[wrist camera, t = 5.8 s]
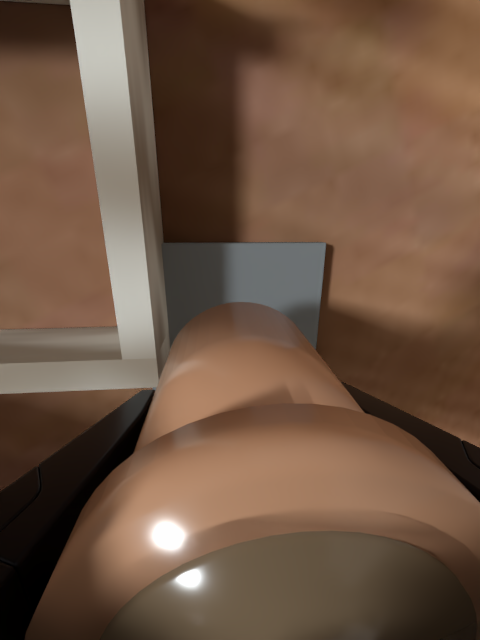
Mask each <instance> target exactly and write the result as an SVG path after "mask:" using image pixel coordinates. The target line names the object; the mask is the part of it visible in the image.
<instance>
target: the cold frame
mask: <svg viewBox="0 0 480 640" xmlns="http://www.w3.org/2000/svg"><path fill="white" fill-rule="evenodd" d="M0 1H11V2H29V3H46V4H64V5H71V12H72V19H73V26H74V32H75V39H76V46H77V53H78V60H79V67H80V73H81V80H82V87H83V94H84V101H85V108H86V114H87V121H88V128H89V135H90V142H91V149H92V155H93V162H94V169H95V176H96V183H97V190H98V197H99V203H100V210H101V217H102V224H103V231H104V238H105V244H106V251H107V258H108V265H109V272H110V279H111V285H112V292H113V299H114V306H115V313H116V320H117V326H118V327H82V328H44V329H6V330H0V394H10V393H34V392H57V391H81V390H105V389H128V388H152V387H157V385H158V382H159V379H160V376H161V373H162V370H163V368H164V365H165V362H166V359H167V356H168V353H169V351H170V340H169V328H168V317H167V305H166V293H165V281H164V269H163V258H162V246H161V244H162V243H164V240H163V227H162V215H161V203H160V191H159V179H158V167H157V154H156V142H155V130H154V118H153V106H152V94H151V81H150V69H149V57H148V45H147V33H146V20H145V8H144V0H0Z"/></svg>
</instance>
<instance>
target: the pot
mask: <svg viewBox="0 0 480 640" xmlns="http://www.w3.org/2000/svg"><path fill="white" fill-rule="evenodd" d="M24 640H480V502H479V501H478V500H477V499H476V498H475V497H474V496H473V495H472V494H471V493H470V492H469V491H468V489H467V488H466V487H465V486H464V485H463V484H462V483H461V482H460V481H459V480H458V479H457V478H456V477H455V476H454V475H453V474H452V472H451V471H450V470H449V469H448V468H447V467H446V466H445V465H444V464H443V463H442V462H441V461H440V460H439V459H438V458H437V457H436V455H435V454H434V453H433V452H432V451H431V450H430V449H428V448H427V447H426V446H425V445H424V444H423V443H421V442H420V441H419V440H418V439H417V438H416V437H414V436H413V435H411V434H409V433H408V432H406V431H404V430H403V429H401V428H399V427H398V426H396V425H394V424H392V423H389V422H387V421H385V420H382V419H380V418H377V417H375V416H372V415H370V414H366V413H364V411H363V410H362V409H361V408H360V406H359V405H358V404H357V402H356V401H355V400H354V399H353V397H352V396H351V395H350V393H349V392H348V391H347V390H346V388H345V387H344V386H343V384H342V383H341V382H340V381H339V379H338V378H337V377H336V375H335V374H334V373H333V372H332V370H331V369H330V368H329V366H328V365H327V364H326V363H325V361H324V360H323V359H322V357H321V356H320V355H319V354H318V352H317V351H316V350H315V349H314V347H313V346H312V345H311V343H310V342H309V341H308V340H307V338H306V337H305V336H304V334H303V333H302V332H301V331H300V329H299V328H298V327H297V326H296V325H295V323H294V322H293V321H291V320H290V319H289V318H288V317H287V316H285V315H284V314H282V313H281V312H279V311H277V310H275V309H273V308H271V307H268V306H265V305H262V304H257V303H252V302H232V303H226V304H221V305H218V306H215V307H212V308H210V309H208V310H206V311H204V312H202V313H200V314H199V315H197V316H196V317H194V318H193V319H192V320H190V321H189V322H188V323H187V324H186V325H185V326H184V327H183V328H182V329H181V331H180V332H179V333H178V335H177V336H176V338H175V339H174V341H173V344H172V346H171V348H170V351H169V353H168V356H167V359H166V362H165V365H164V368H163V370H162V373H161V376H160V379H159V382H158V385H157V387H156V390H155V393H154V396H153V399H152V402H151V404H150V407H149V410H148V413H147V416H146V419H145V421H144V424H143V427H142V430H141V433H140V436H139V438H138V441H137V444H136V447H135V450H134V453H133V454H132V455H131V456H130V457H129V458H127V459H126V460H125V461H124V462H123V463H121V464H120V465H119V466H118V467H116V468H115V469H114V470H113V471H112V472H111V473H110V474H109V475H108V476H107V477H106V478H105V480H104V481H103V482H102V483H101V484H100V485H99V486H98V487H97V488H96V489H95V491H94V492H93V494H92V495H91V497H90V498H89V500H88V501H87V503H86V504H85V506H84V507H83V509H82V511H81V513H80V515H79V517H78V519H77V521H76V524H75V526H74V528H73V530H72V532H71V534H70V537H69V539H68V541H67V543H66V545H65V547H64V550H63V552H62V554H61V556H60V558H59V560H58V563H57V565H56V567H55V569H54V571H53V573H52V576H51V578H50V580H49V582H48V584H47V586H46V589H45V591H44V593H43V595H42V597H41V599H40V602H39V604H38V606H37V608H36V610H35V613H34V615H33V617H32V619H31V622H30V624H29V626H28V629H27V631H26V634H25V639H24Z"/></svg>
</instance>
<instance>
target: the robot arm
mask: <svg viewBox="0 0 480 640" xmlns="http://www.w3.org/2000/svg"><path fill="white" fill-rule="evenodd" d="M341 383H342V384H343V386H344V387H345V388H346V390H347V391H348V392H349V393H350V395H351V396H352V397H353V399H354V400H355V401H356V402H357V404H358V405H359V406H360V408H361V409H362V410H363V411H364V413H366V414H370V415H372V416H375V417H377V418H380V419H382V420H385V421H387V422H389V423H392V424H394V425H396V426H398V427H399V428H401V429H403V430H404V431H406V432H408V433H409V434H411V435H413V436H414V437H416V438H417V439H418V440H419V441H420V442H421V443H423V444H424V445H425V446H426V447H427V448H428V449H430V450H431V451H432V452H433V453H434V454H435V455H436V457H437V458H438V459H439V460H440V461H441V462H442V463H443V464H444V465H445V466H446V467H447V468H448V469H449V470H450V471H451V472H452V474H453V475H454V476H455V477H456V478H457V479H458V480H459V481H460V482H461V483H462V484H463V485H464V486H465V487H466V488H467V489H468V491H469V492H470V493H471V494H472V495H473V496H474V497H475V498H476V499H477V500H478V501H479V502H480V448H479V447H477V446H475V445H473V444H471V443H468V442H466V441H464V440H463V441H461V439H460V438H458V437H456V436H454V435H452V434H450V433H448V432H445V431H443V430H441V429H439V428H437V427H435V426H433V425H431V424H429V423H427V422H425V421H423V420H421V419H418V418H416V417H414V416H412V415H410V414H408V413H406V412H404V411H402V410H400V409H398V408H396V407H394V406H392V405H389V404H387V403H385V402H383V401H381V400H379V399H377V398H375V397H373V396H371V395H369V394H367V393H365V392H362V391H360V390H358V389H356V388H354V387H352V386H350V385H348V384H346V383H344V382H341ZM154 393H155V390H142V391H140V392H139V393H137V394H136V395H135V396H133V397H132V398H130V399H129V400H128V401H126V402H125V403H124V404H122V405H121V406H119V407H118V408H117V409H115V410H114V411H112V412H111V413H110V414H108V415H107V416H105V417H104V418H103V419H101V420H100V421H99V422H97V423H96V424H94V425H93V426H92V427H90V428H89V429H87V430H86V431H85V432H83V433H82V434H80V435H79V436H78V437H76V438H75V439H74V440H72V441H71V442H69V443H68V444H67V445H65V446H64V447H62V448H61V449H60V450H58V451H57V452H55V453H54V454H53V455H51V456H50V457H48V458H47V459H46V460H44V461H43V462H42V463H40V464H39V467H34V468H33V469H32V470H30V471H29V472H28V473H26V474H25V475H23V476H22V477H21V478H19V479H18V480H16V481H15V482H13V483H12V484H11V485H9V486H8V487H6V488H5V489H3V490H2V491H0V640H24V639H25V634H26V631H27V629H28V626H29V624H30V622H31V619H32V617H33V615H34V613H35V610H36V608H37V606H38V604H39V602H40V599H41V597H42V595H43V593H44V591H45V589H46V586H47V584H48V582H49V580H50V578H51V576H52V573H53V571H54V569H55V567H56V565H57V563H58V560H59V558H60V556H61V554H62V552H63V550H64V547H65V545H66V543H67V541H68V539H69V537H70V534H71V532H72V530H73V528H74V526H75V524H76V521H77V519H78V517H79V515H80V513H81V511H82V509H83V507H84V506H85V504H86V503H87V501H88V500H89V498H90V497H91V495H92V494H93V492H94V491H95V489H96V488H97V487H98V486H99V485H100V484H101V483H102V482H103V481H104V480H105V478H106V477H107V476H108V475H109V474H110V473H111V472H112V471H113V470H114V469H115V468H116V467H118V466H119V465H120V464H121V463H123V462H124V461H125V460H126V459H127V458H129V457H130V456H131V455H132V454H133V453H134V450H135V447H136V444H137V441H138V438H139V436H140V433H141V430H142V427H143V424H144V421H145V419H146V416H147V413H148V410H149V407H150V404H151V402H152V399H153V396H154Z"/></svg>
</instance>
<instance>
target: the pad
mask: <svg viewBox="0 0 480 640" xmlns="http://www.w3.org/2000/svg"><path fill="white" fill-rule="evenodd" d="M161 246H162V258H163V269H164V281H165V293H166V305H167V317H168V328H169V340H170V348H171V346H172V344H173V341H174V339H175V338H176V336H177V335H178V333H179V332H180V331H181V329H182V328H183V327H184V326H185V325H186V324H187V323H188V322H189V321H190V320H192V319H193V318H194V317H196V316H197V315H199V314H200V313H202V312H204V311H206V310H208V309H210V308H212V307H215V306H218V305H221V304H226V303H232V302H252V303H257V304H262V305H265V306H268V307H271V308H273V309H275V310H277V311H279V312H281V313H282V314H284V315H285V316H287V317H288V318H289V319H290V320H291V321H293V322H294V323H295V325H296V326H297V327H298V328H299V329H300V331H301V332H302V333H303V334H304V336H305V337H306V338H307V340H308V341H309V342H310V343H311V345H312V346H313V347H314V349H315V350H316V344H317V333H318V323H319V313H320V302H321V292H322V281H323V271H324V260H325V250H326V243H323V242H224V243H162V244H161ZM153 390H156V387H153Z"/></svg>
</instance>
